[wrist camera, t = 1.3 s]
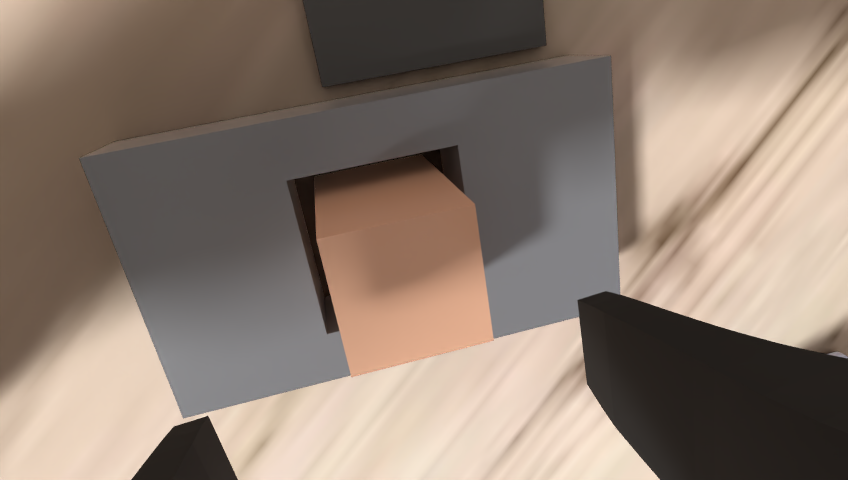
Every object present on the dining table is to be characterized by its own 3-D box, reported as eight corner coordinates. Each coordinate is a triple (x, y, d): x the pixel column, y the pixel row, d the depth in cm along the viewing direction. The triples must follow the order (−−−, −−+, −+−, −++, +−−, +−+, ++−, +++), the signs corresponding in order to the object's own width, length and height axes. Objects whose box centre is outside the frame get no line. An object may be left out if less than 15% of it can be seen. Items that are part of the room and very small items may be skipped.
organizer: (568, 55, 20) (611, 55, 17) (583, 275, 23) (620, 305, 20) (115, 141, 18) (78, 158, 15) (200, 369, 21) (183, 418, 18)
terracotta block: (421, 154, 20) (475, 204, 14) (438, 252, 21) (493, 340, 15) (314, 176, 20) (316, 239, 13) (338, 275, 21) (351, 377, 14)
